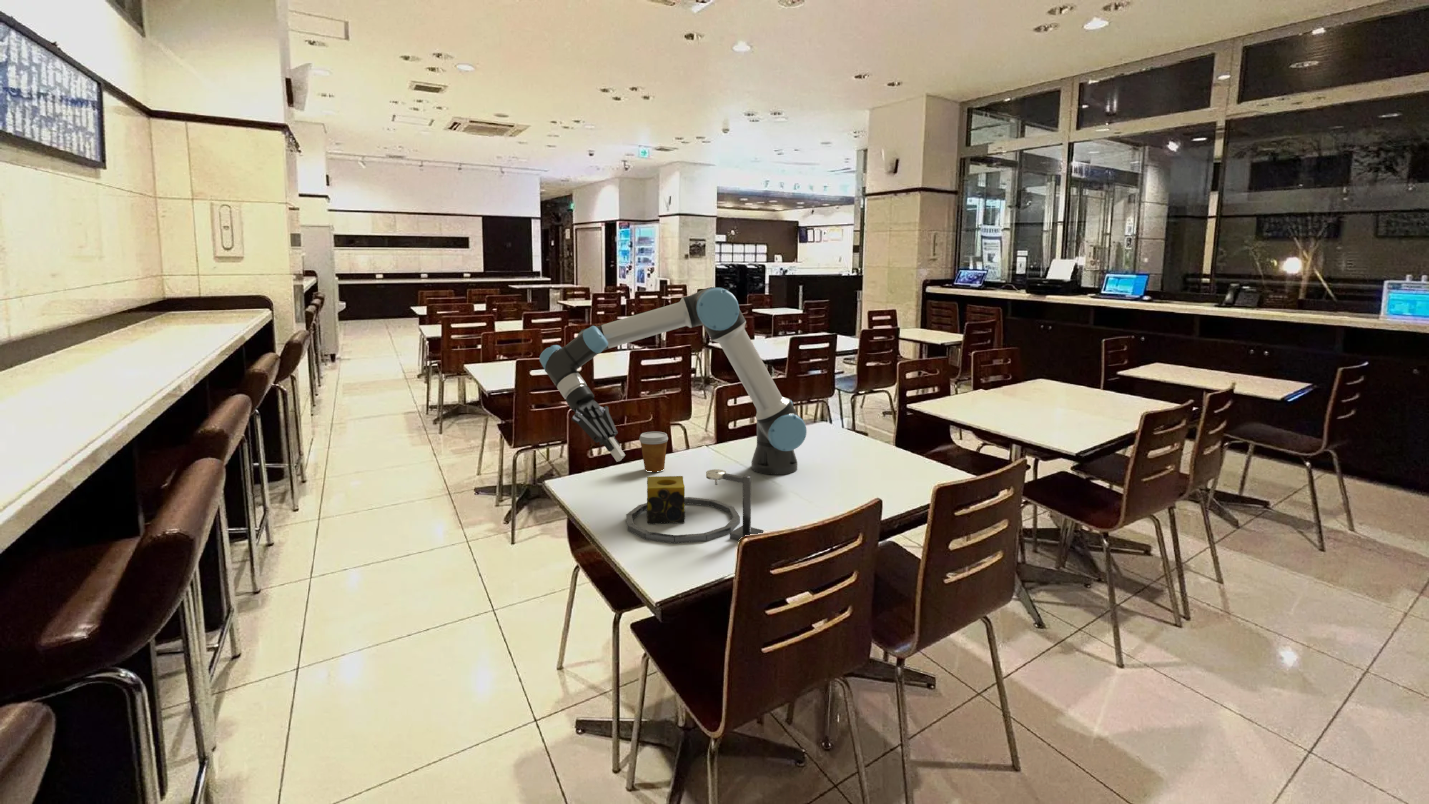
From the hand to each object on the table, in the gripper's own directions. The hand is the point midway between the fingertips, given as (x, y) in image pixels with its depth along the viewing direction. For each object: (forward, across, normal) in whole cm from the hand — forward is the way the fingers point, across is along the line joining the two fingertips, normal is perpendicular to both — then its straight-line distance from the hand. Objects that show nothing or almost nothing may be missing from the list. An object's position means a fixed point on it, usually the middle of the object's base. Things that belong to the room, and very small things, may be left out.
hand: (621, 458), depth 190 cm
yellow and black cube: (+21, 0, +1) cm, 21 cm away
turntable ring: (+25, 0, +6) cm, 25 cm away
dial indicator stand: (+36, 0, +17) cm, 39 cm away
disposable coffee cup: (-1, -31, -20) cm, 37 cm away
